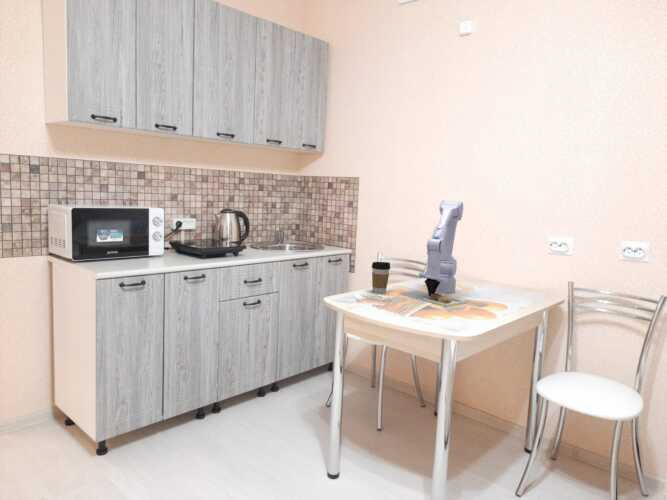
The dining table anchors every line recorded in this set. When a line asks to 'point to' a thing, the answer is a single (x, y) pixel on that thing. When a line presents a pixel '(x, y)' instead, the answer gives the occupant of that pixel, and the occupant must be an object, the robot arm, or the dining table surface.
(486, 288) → the dining table surface
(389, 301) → the dining table surface
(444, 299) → the oak tile
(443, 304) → the tray
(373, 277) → the coffee cup
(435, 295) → the walnut tile
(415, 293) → the slate board
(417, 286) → the dining table surface
